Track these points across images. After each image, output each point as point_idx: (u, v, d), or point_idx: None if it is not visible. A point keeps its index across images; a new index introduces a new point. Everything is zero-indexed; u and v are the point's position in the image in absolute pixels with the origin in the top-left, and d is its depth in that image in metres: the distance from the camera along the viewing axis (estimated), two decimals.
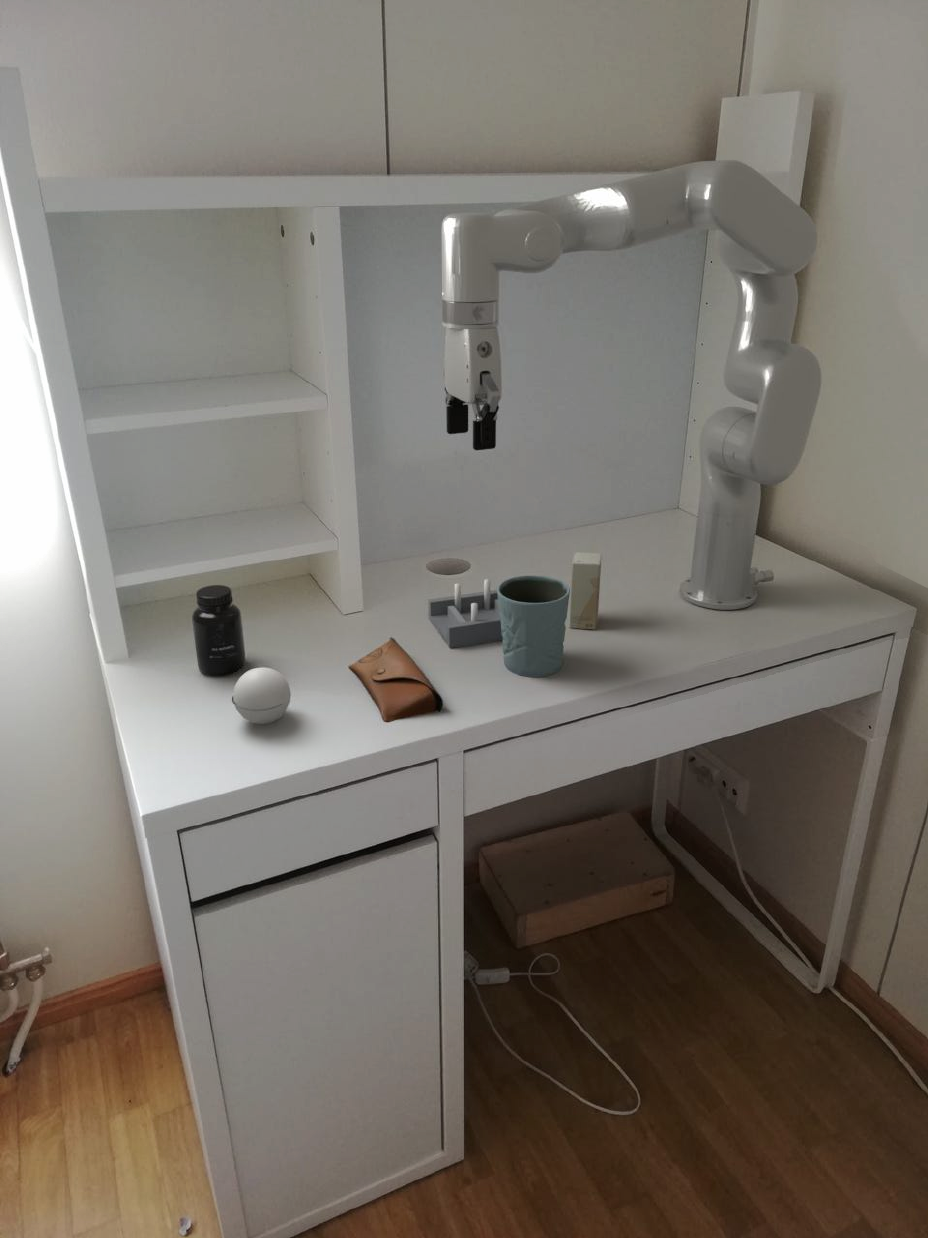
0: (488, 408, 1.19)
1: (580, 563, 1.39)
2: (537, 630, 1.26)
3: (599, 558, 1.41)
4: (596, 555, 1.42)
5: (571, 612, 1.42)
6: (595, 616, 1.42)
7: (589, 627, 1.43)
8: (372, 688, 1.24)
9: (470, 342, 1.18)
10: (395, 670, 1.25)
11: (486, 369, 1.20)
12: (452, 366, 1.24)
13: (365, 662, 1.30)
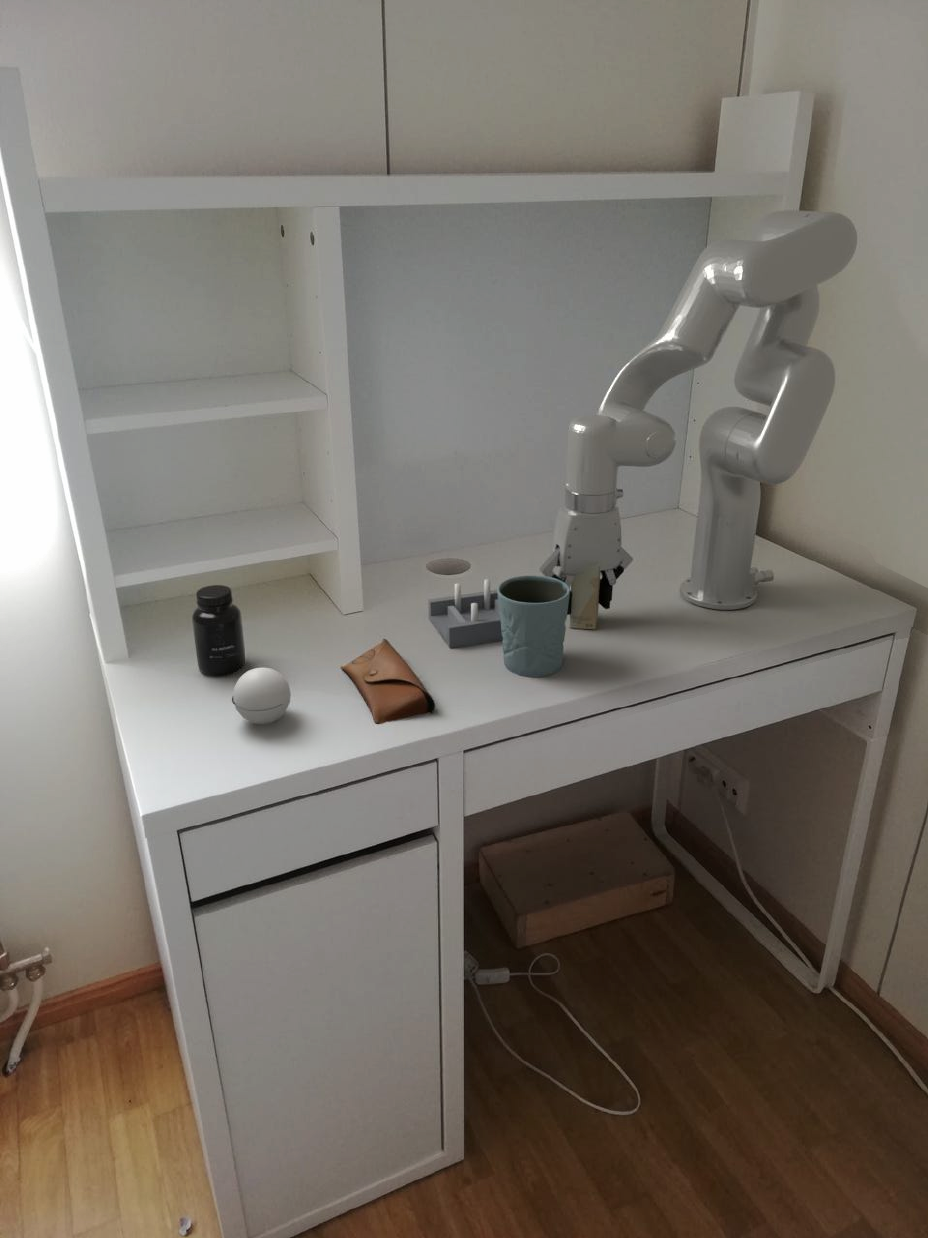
0: (623, 569, 1.43)
1: None
2: (537, 630, 1.26)
3: None
4: None
5: (571, 612, 1.42)
6: (595, 616, 1.42)
7: (589, 627, 1.43)
8: (364, 690, 1.24)
9: None
10: (387, 671, 1.24)
11: None
12: (592, 547, 1.37)
13: (358, 663, 1.30)
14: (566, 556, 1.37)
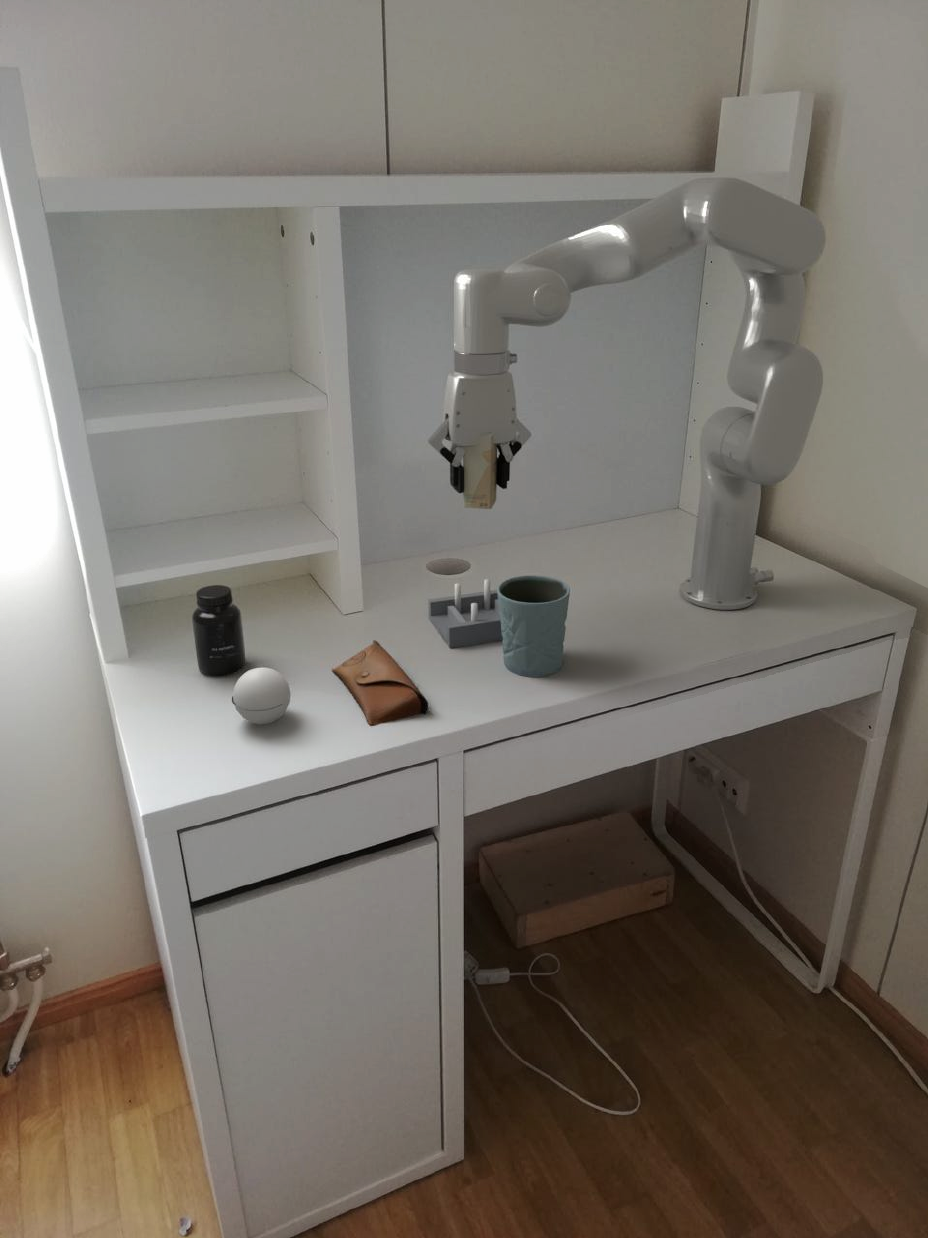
0: None
1: None
2: (537, 630, 1.26)
3: None
4: None
5: (464, 490, 1.32)
6: (490, 494, 1.32)
7: (484, 506, 1.33)
8: (356, 692, 1.23)
9: (513, 385, 1.28)
10: (379, 673, 1.24)
11: None
12: (483, 416, 1.27)
13: (349, 665, 1.29)
14: (455, 424, 1.27)
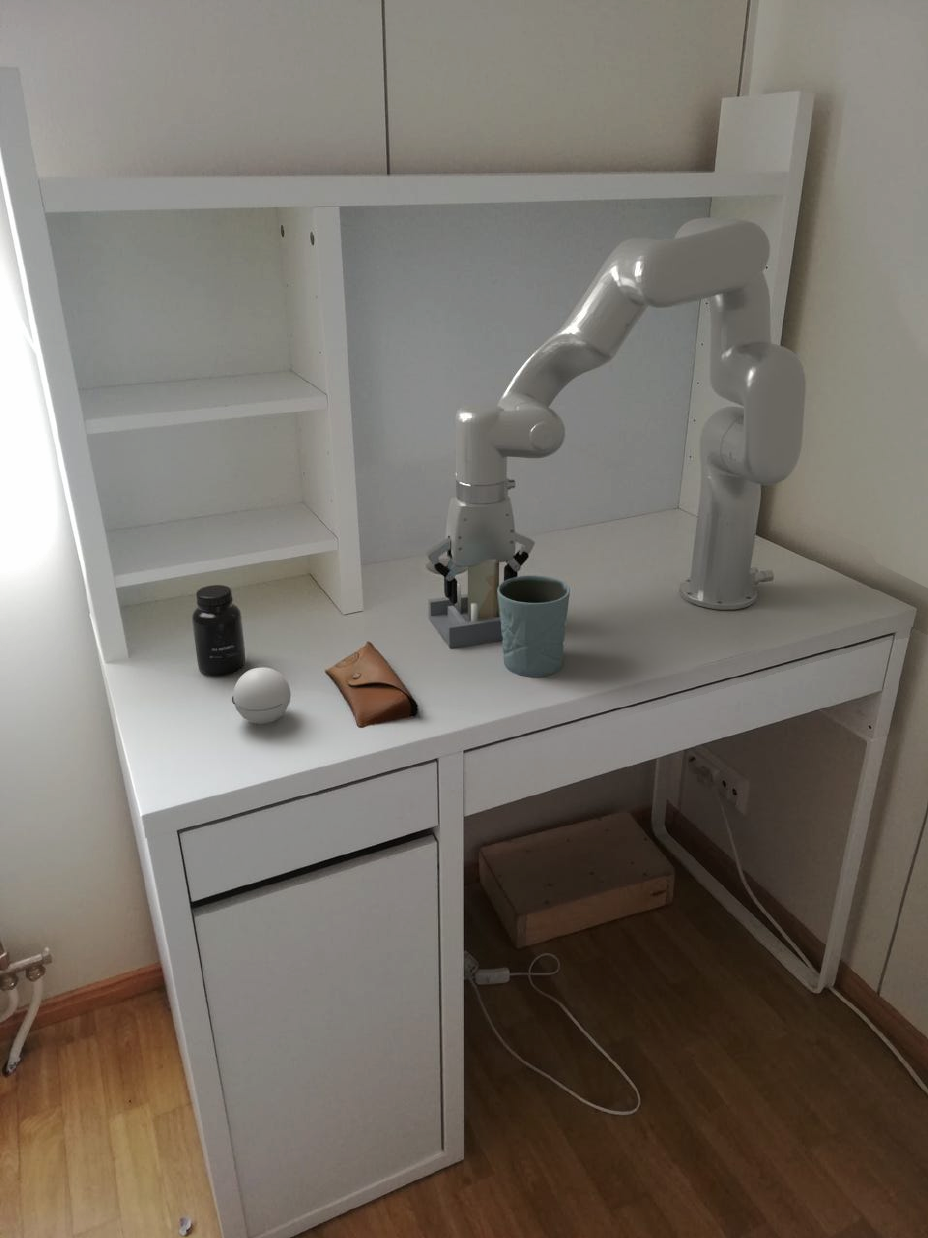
0: (528, 555, 1.41)
1: None
2: (537, 630, 1.26)
3: None
4: None
5: (469, 610, 1.41)
6: (493, 614, 1.40)
7: None
8: (347, 693, 1.23)
9: (512, 510, 1.36)
10: (370, 675, 1.23)
11: None
12: (483, 539, 1.35)
13: (341, 666, 1.29)
14: (457, 547, 1.35)
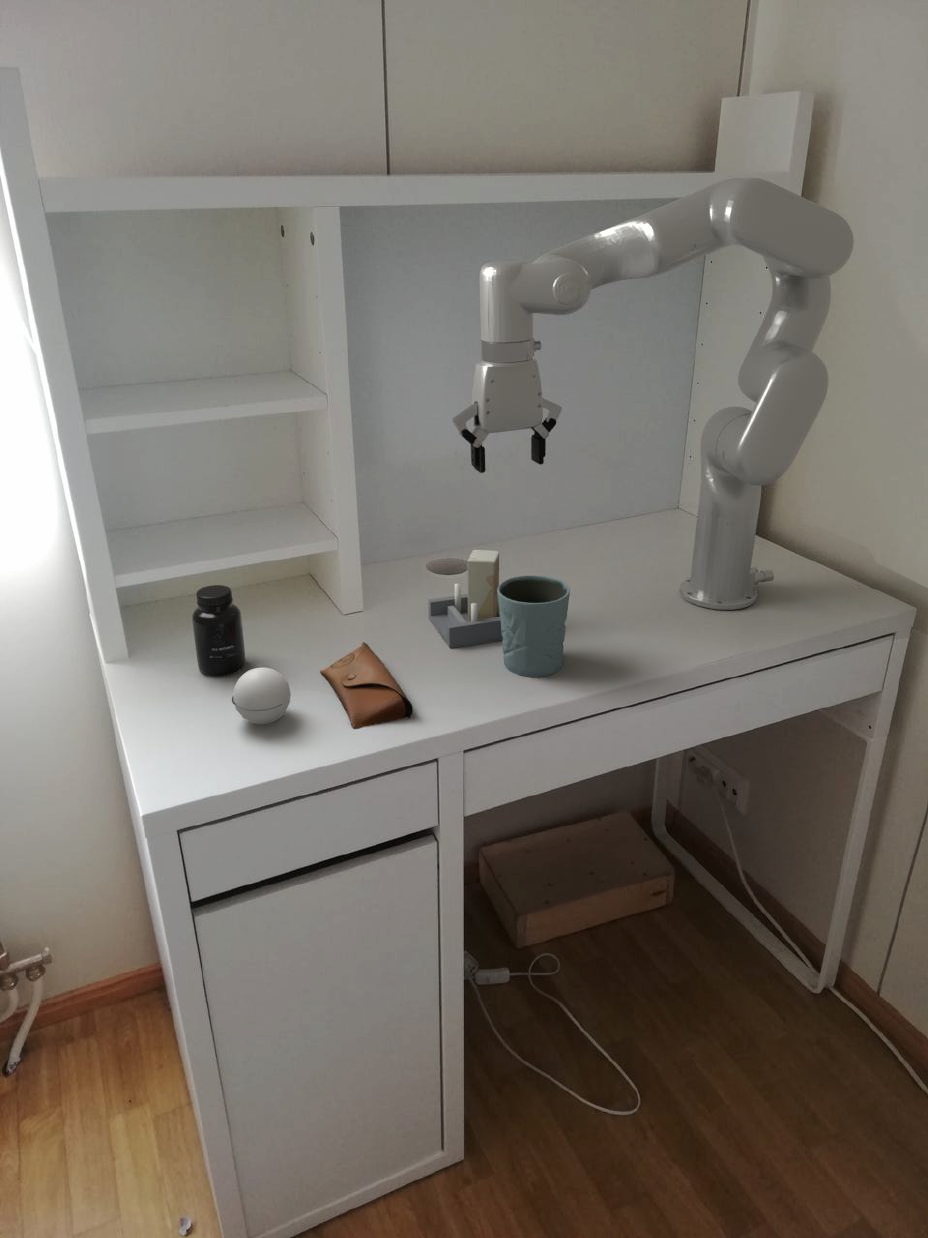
0: (555, 421, 1.39)
1: (476, 560, 1.37)
2: (537, 630, 1.26)
3: (495, 555, 1.39)
4: (493, 552, 1.40)
5: (469, 610, 1.41)
6: (493, 614, 1.40)
7: None
8: (342, 694, 1.23)
9: None
10: (365, 675, 1.23)
11: None
12: (511, 402, 1.33)
13: (337, 667, 1.29)
14: (485, 411, 1.33)
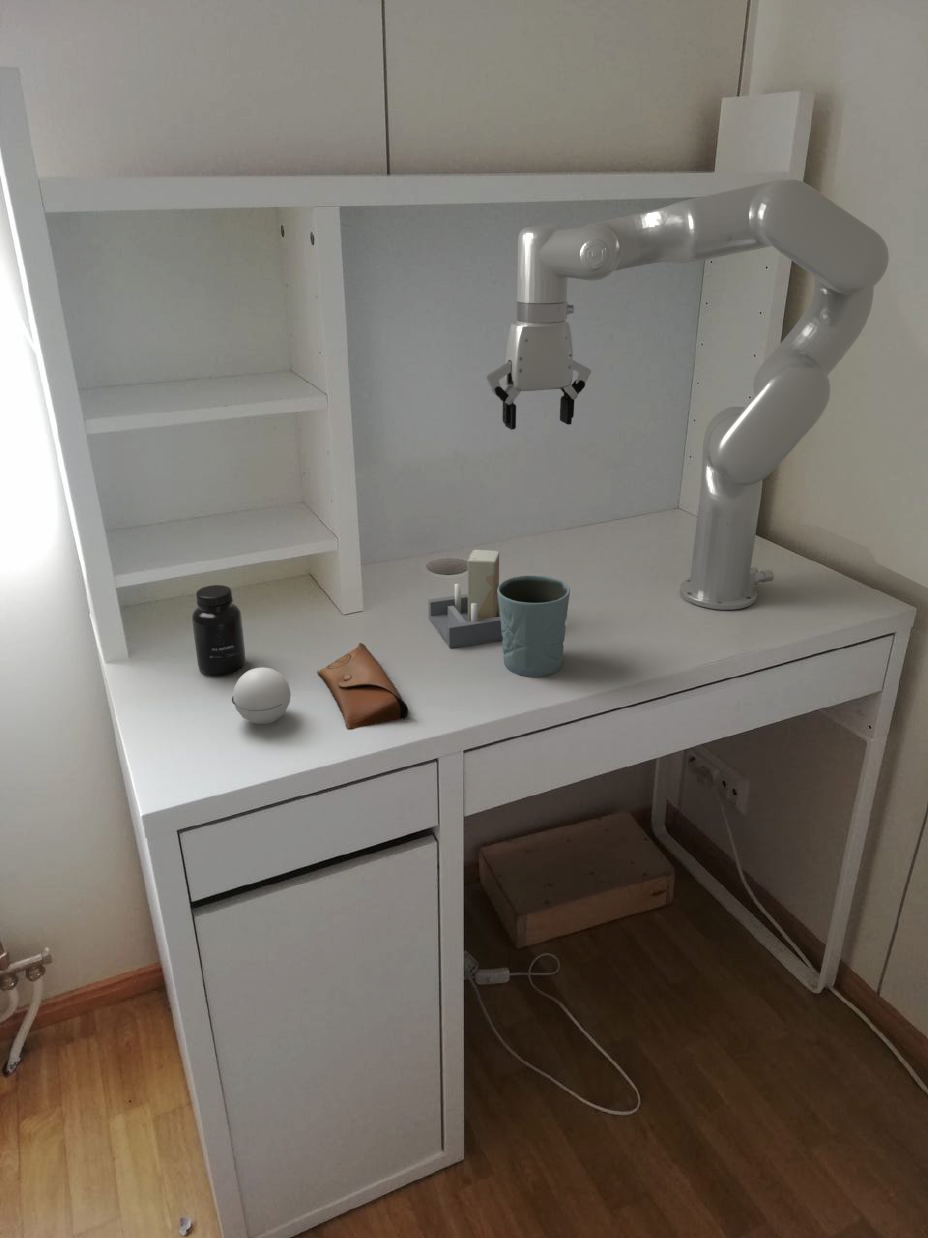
0: (584, 384, 1.45)
1: (476, 560, 1.37)
2: (537, 630, 1.26)
3: (496, 555, 1.39)
4: (493, 552, 1.40)
5: (469, 610, 1.41)
6: (493, 614, 1.40)
7: None
8: (338, 695, 1.22)
9: (570, 334, 1.40)
10: (361, 676, 1.23)
11: None
12: (543, 361, 1.40)
13: (333, 668, 1.29)
14: (518, 369, 1.39)
